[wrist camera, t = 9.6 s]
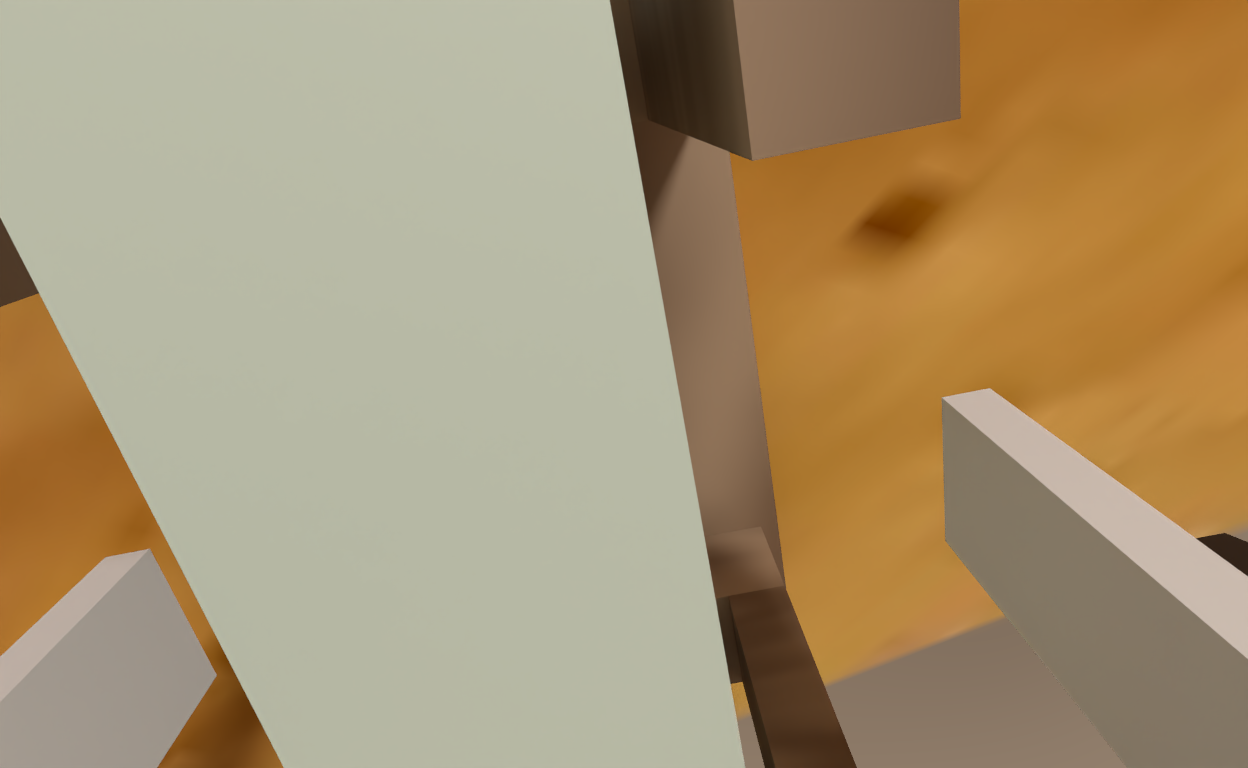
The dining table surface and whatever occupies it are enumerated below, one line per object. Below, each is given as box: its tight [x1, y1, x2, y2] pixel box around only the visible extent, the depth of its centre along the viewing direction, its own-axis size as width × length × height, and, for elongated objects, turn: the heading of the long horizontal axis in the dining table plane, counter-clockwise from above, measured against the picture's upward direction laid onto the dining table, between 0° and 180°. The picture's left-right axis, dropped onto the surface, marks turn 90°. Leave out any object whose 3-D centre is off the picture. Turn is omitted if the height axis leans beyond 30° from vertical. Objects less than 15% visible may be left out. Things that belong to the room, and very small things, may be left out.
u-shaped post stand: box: [0, 0, 961, 768], centre depth 14 cm, size 10×18×14 cm, turn 11°
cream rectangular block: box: [0, 0, 745, 768], centre depth 12 cm, size 4×21×10 cm, turn 11°
